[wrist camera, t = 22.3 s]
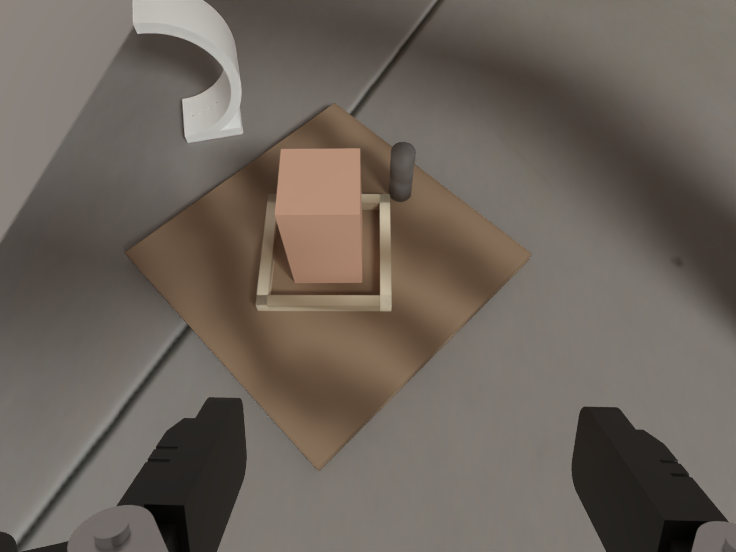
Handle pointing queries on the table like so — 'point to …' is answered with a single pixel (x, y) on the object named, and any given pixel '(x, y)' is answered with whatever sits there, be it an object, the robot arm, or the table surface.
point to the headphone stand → (209, 31)
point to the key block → (321, 214)
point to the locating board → (329, 285)
